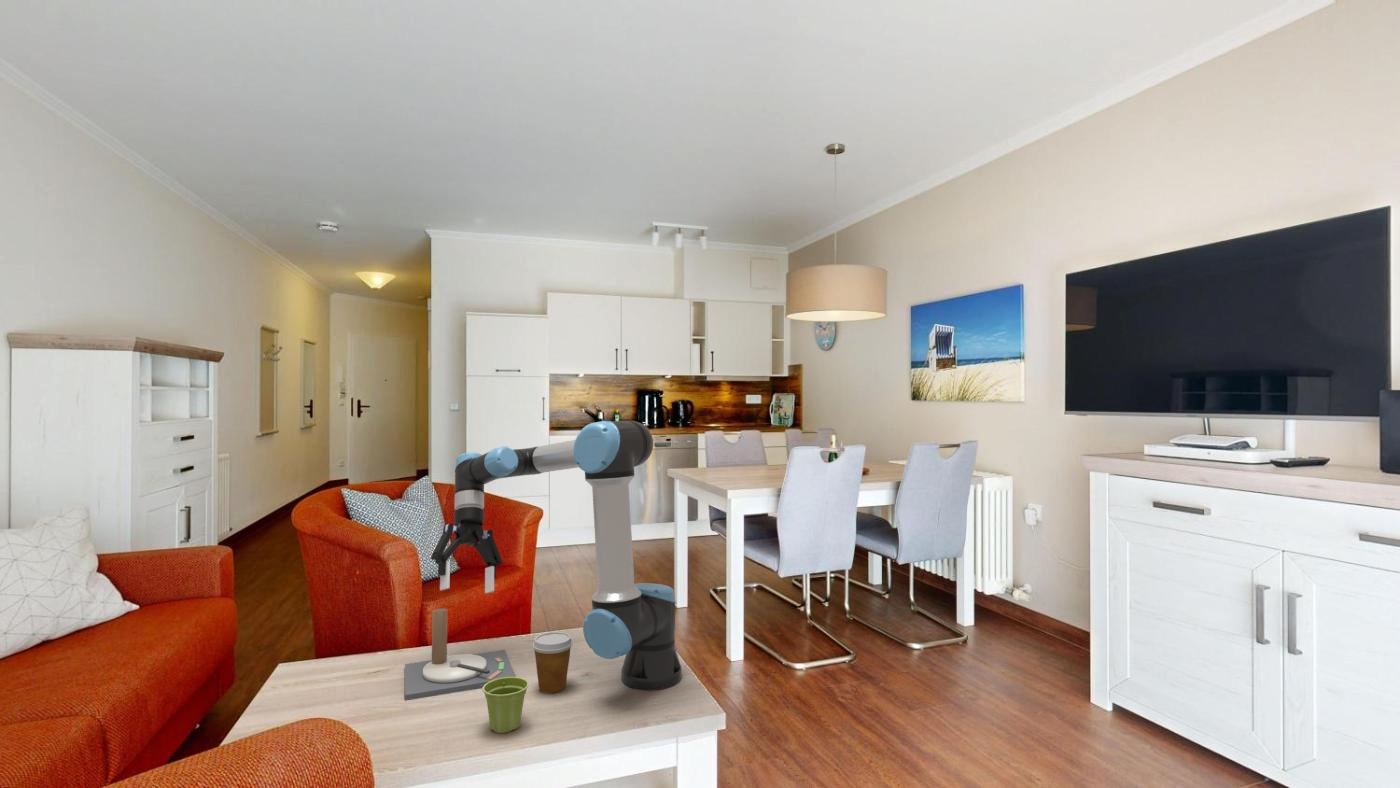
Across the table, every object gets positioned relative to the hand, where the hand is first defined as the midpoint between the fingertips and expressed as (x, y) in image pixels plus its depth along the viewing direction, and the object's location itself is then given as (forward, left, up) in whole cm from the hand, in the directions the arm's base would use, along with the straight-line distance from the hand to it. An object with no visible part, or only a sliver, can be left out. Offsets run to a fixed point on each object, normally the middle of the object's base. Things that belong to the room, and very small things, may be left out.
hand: (467, 590), depth 166 cm
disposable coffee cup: (-16, -18, -21) cm, 33 cm away
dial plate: (+1, +3, -21) cm, 21 cm away
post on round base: (0, +3, -20) cm, 20 cm away
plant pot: (-31, -5, -21) cm, 38 cm away
